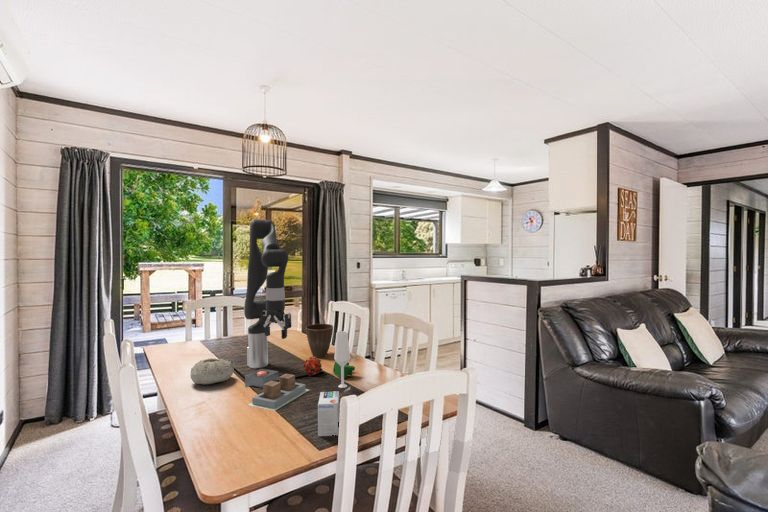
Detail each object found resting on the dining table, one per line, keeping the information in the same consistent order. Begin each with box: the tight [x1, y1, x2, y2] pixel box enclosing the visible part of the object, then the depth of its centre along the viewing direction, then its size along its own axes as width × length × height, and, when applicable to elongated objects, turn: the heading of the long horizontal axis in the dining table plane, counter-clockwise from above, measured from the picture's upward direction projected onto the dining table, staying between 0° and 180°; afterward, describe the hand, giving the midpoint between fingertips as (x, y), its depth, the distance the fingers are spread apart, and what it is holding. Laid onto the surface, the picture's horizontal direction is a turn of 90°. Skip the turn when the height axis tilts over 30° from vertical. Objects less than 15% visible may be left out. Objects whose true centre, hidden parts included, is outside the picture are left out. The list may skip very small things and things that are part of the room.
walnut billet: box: [262, 381, 281, 400], centre depth 153 cm, size 4×4×7 cm
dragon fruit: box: [303, 356, 323, 377], centre depth 187 cm, size 8×8×12 cm
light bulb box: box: [317, 390, 340, 437], centre depth 133 cm, size 11×7×11 cm, turn 5°
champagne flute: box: [333, 330, 351, 392], centre depth 168 cm, size 7×7×24 cm
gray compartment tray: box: [247, 382, 310, 412], centre depth 157 cm, size 13×22×4 cm, turn 156°
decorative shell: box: [190, 357, 235, 386], centre depth 178 cm, size 18×18×10 cm
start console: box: [244, 368, 280, 389], centre depth 174 cm, size 10×10×5 cm
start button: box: [257, 371, 267, 376], centre depth 174 cm, size 4×4×4 cm
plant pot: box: [305, 323, 334, 358], centre depth 217 cm, size 15×15×16 cm
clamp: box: [332, 360, 356, 380], centre depth 185 cm, size 12×6×9 cm, turn 24°
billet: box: [278, 373, 296, 391], centre depth 161 cm, size 4×4×7 cm
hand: (275, 337), depth 163 cm, fingers open, 8 cm apart
